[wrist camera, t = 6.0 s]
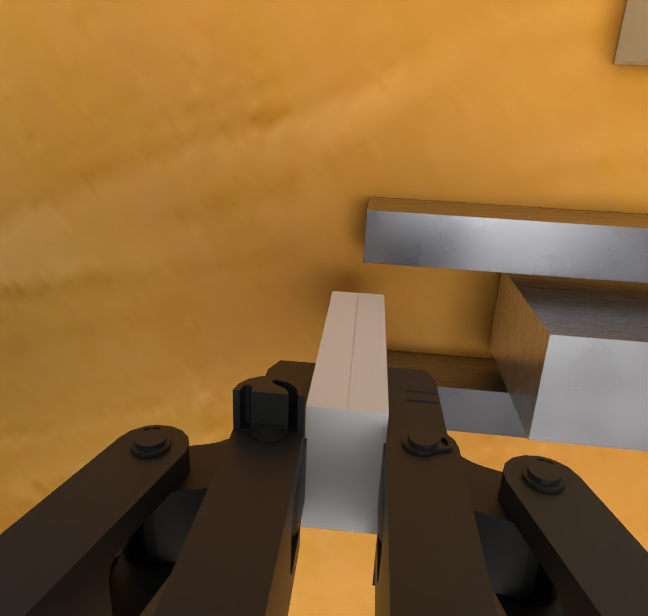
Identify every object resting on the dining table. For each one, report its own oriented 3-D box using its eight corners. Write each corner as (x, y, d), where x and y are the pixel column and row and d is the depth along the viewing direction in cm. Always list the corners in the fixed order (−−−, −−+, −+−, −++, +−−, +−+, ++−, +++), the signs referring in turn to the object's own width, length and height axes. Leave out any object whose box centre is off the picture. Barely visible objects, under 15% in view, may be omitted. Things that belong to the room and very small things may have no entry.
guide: (355, 386, 21) (351, 421, 19) (369, 196, 19) (366, 210, 17) (799, 426, 20) (854, 469, 18) (878, 229, 18) (953, 248, 15)
